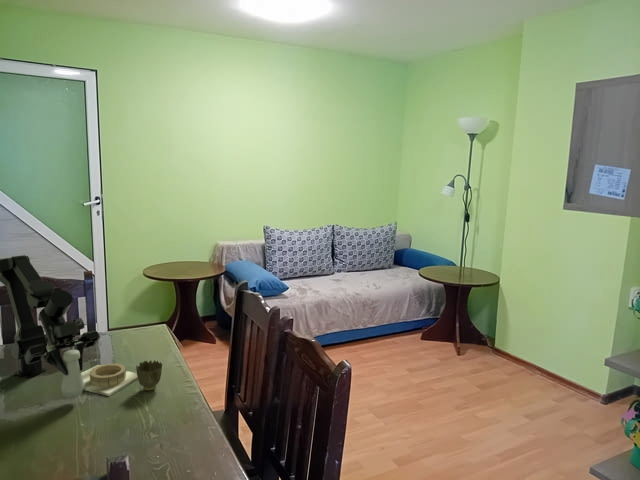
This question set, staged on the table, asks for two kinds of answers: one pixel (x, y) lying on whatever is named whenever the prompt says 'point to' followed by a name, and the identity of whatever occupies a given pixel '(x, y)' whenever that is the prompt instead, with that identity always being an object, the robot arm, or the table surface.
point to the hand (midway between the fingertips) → (74, 372)
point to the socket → (107, 378)
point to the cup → (149, 374)
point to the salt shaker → (72, 375)
